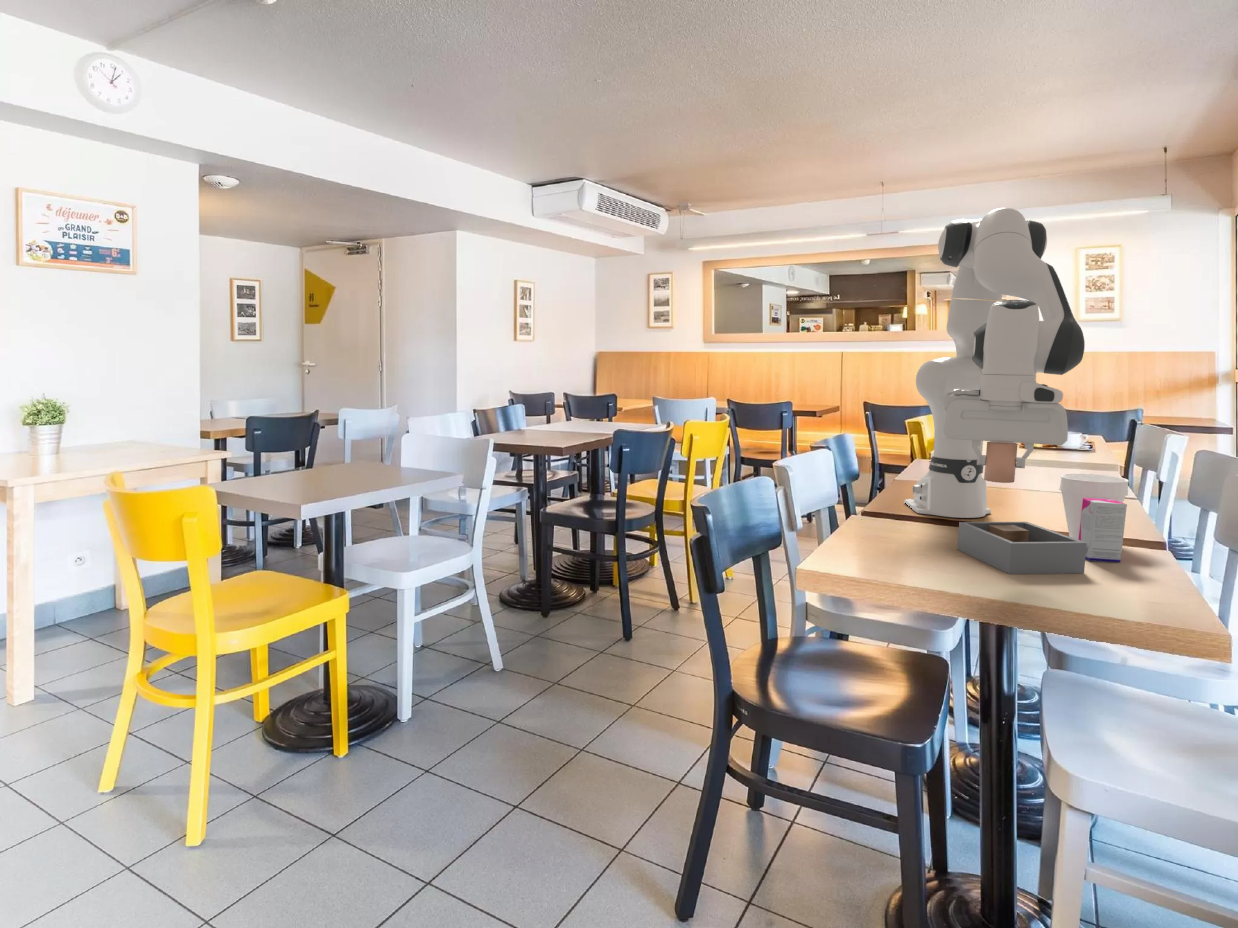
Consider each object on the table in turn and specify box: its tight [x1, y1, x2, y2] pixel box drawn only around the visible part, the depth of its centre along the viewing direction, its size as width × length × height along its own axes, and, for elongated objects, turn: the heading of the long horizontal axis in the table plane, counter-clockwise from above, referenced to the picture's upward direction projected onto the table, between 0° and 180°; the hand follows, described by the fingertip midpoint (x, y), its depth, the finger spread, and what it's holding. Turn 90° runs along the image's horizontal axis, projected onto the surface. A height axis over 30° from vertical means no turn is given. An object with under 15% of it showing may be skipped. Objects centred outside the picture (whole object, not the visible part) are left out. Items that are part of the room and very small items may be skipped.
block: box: [989, 525, 1029, 542], centre depth 145 cm, size 5×5×5 cm
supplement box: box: [1078, 498, 1128, 563], centre depth 143 cm, size 6×6×12 cm
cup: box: [1058, 473, 1130, 540], centre depth 157 cm, size 12×12×14 cm
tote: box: [957, 521, 1087, 575], centre depth 141 cm, size 18×14×6 cm
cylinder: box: [983, 441, 1019, 484], centre depth 136 cm, size 5×5×7 cm
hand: (1000, 466), depth 136 cm, fingers closed on cylinder, 5 cm apart
